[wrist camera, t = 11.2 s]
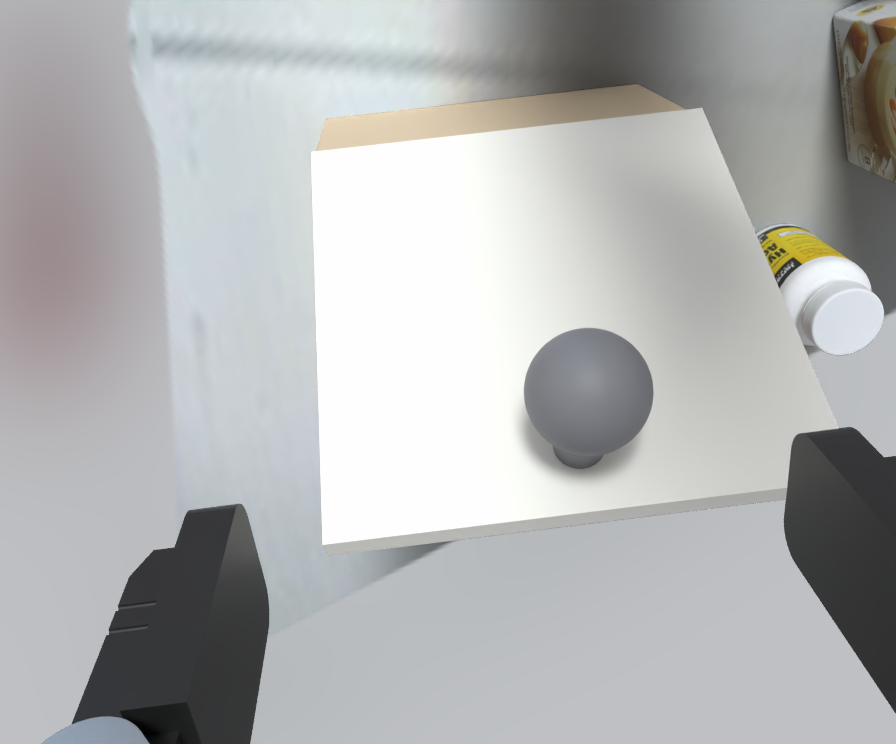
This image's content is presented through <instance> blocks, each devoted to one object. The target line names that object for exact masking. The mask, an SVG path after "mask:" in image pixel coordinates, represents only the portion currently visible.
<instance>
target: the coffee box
mask: <svg viewBox="0 0 896 744" xmlns="http://www.w3.org/2000/svg"><path fill="white" fill-rule="evenodd" d="M833 21H834V29H835V40H836V50H837V59H838V68H839V78H840V88H841V99H842V108H843V119H844V128H845V138H846V148H847V157H848V161H849V162H850V163H853V164H855V165H857V166H859V167H861V168H863V169H865V170H867V171H870V172H872V173H874V174H876V175H878V176H880V177H882V178H884V179H887V180H889V181H891V182H893V183H895V184H896V0H864V1H861V2H859V3H856V4H854V5H851V6H849V7H847V8H844V9H842V10H839V11H838V12H836V13H835V15H834V17H833Z"/></svg>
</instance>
